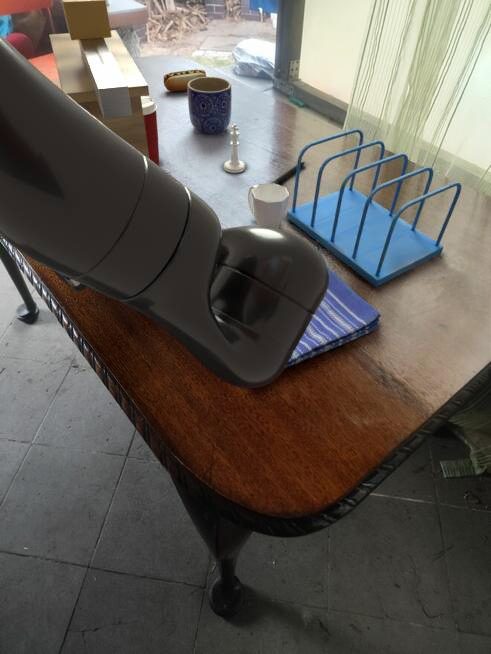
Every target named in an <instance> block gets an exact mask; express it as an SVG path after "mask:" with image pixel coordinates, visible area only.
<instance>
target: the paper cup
mask: <svg viewBox="0 0 491 654" xmlns="http://www.w3.org/2000/svg"><path fill="white" fill-rule="evenodd" d="M141 102H142V109H143V117H144V124H145V131H146V139H147V146H148V153H149V159H150V160H151V161H153V162H154V163H155V164H157V165H158V166H159V167H160V153H159V152H160V150H159V149H160V148H159V132H158V119H157V118H158V115H157V111H158V105H157V104H156V102H155V100H154V99H153V98H152V97H150V96H141Z"/></svg>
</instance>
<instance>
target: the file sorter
mask: <svg viewBox="0 0 491 654" xmlns="http://www.w3.org/2000/svg"><path fill="white" fill-rule="evenodd" d="M356 133H358V134H359V142H358V146H354V147H351V148H349V149H346V150H343V151H340V152H338V153H334V154H332V155H330V156H328V157H327V158H326V159H325V160H324V161H323V162H322V164H321V165H320V167H319V170H318V173H317V179H316V186H315V192H314V199H313V200H311V201H308V202H306V203H303V204H300V205H298V206H297V201H298V200H297V199H298V190H299V181H300V174H301V168H300V166H301V162H302V159H303V156H304V155H305V153H306V152H307V151H308V150H309V149H310V148H312V147H314V146H317V145H320V144H323V143H326V142H329V141H332V140H336V139H339V138H341V137H345V136H349V135H352V134H356ZM363 143H364V133H363V131H362V130H361V129H359V128H354V129H350V130H346V131H344V132H343V131H342V132H340V133H337V134H333V135H330V136H328V137H324V138H321V139H318V140H315V141H312V142H309V143H308V144H306V145H305V146H304V147H303V148H302V149H301V150H300V153H299V155H298V157H297V163H296V165H297V170H296V171H295V179H294V187H293V188H294V190H293V196H292V207H291V208H290V209H287V211H286V212H287V213H286V219H288V220H289V221H291V222H292V223H293V224H295V225H296V226H297V227H299V229H301V230H302V231H304V233H306V234H307V235H308V236H309V237H311V238H312V239H314V240H315V241H316V242H317V243H319V245H321V246H323V248H325V249H326V250H328V251H329V252H330V253H331V254H333V255H334V256H335V257H336V258H337V259H339V260H340V261H341V262H343V263H344V264H345V265H346V266H348V267H349V268H350V269H352V270H353V271H354V272H355V273H357V274H358V275H359V276H361V278H362V279H365V281H367V282H368V283H369V284H371V285H372V286H373V287H374V288H376V287H379V286H381V285H382V284H385V283H387V282H389V281H391V280H392V279H395V278H396V277H398V276H401V275H402V274H404V273H406V272H408V271H410V270H412V269H413V268H415V267H418V266H419V265H421V264H423V263H425V262H428V261H429V260H431V259H433V258H436V257H437V256H439V255H441V254H442V252H443V249H444V245H443V244H442V243H441V242H442V238H443V237H444V234H445V231H446V230H447V226H448V224H449V222H450V219H451V217H452V215H453V212H454V209H455V207H456V205H457V202H458V200H459V197H460V195H461V192H462V184H461V182H458V181H454V182H451V183H449V184H447V185H444V186H441V187H439V188H437V189H435V190H433V191H430V192H429V190H430V187H431V184H432V181H433V177H434V169H433V168H432V167H430V166H425V167H424V166H423V167H421V168H419V169H416V170H414V171H412V172H408V173H406V171H407V168H408V164H409V157H408V155H407V154H406V153H404V152H400V153H396V154H394V155H391V156H388V157H385V158H384V155H385V152H386V151H385V150H386V146H385V143H384V142H383V141H382V140H379V139H378V140H374V141H370V142H367V143H364V144H363ZM376 145H380V147H381V148H380V155H379V158H378V160H377V161H374V162H372V163H369V164H366V165H363V166H361V167H358V165H359V161H360V156H361V153H362V150H363V149H367V148H369V147H373V146H376ZM354 152H356V156H355V161H354V165H353V166H354V167H353V169H352V171H350V172H349V173H348V174H347V175H346V176H345V178H344V179H343V181H342V183H341V185H340V189H339V190H337V191H334V192H332V193H329V194H326V195H324V196H322V197H319V195H320V190H321V189H320V187H321V181H322V177H323V172H324V171H325V168H326V166H327V165H328V164H329V162H331V161H332V160H335V159H337V158H340V157H343V156H346V155H349V154H352V153H354ZM399 158H403V166H402V169H401V172H400V176H399V177H396V178H394V179H391V180H389V181H386V182H383V183H381V184H379V185H377V183H378V179H379V176H380V172H381V168H382V165H383V164H385V163H388V162H391V161H394V160H397V159H399ZM374 167H376V171H375V175H374V179H373V183H372V187H371V190H370V193H369V195H368V196H366V195H364V194H363V193H362V192H360V191H359V190H357V189H355V188H354V185H355V183H354V182H355V178H356V174H359V173H361V172H364V171H367V170H369V169H372V168H374ZM427 171H428V172H429V173H428V179H427V181H426V184H425V187H424V190H423V193H422V195H421V196H419V197H416V198H414V199H412V200H410V201H408V202H406V203H405V204H403V205H402V206H401V207H400V208H399V209H398V211H397V212H395V214H394V211H395V208H396V205H397V201H398V198H399V195H400V191H401V189H402V186H403V185H402V184H403V181H404V180H407V179H410V178H412V177H414V176H415V177H416V176H417V175H420V174H422V173H424V172H427ZM349 180H350V183H349V186H347V183H348V182H349ZM395 184H397V186H396V191H395V194H394V197H393V200H392V204H391V207H390V211H389V210H388V209H387V208H385V207H384V206H382V205H380V204H379V203H377V202H375V201H374V200H373V198H374V196H375V195H376V194H377V193H378V192H379V191H381V190H383V189H385V188H387V187H389V186H392V185H395ZM346 186H347V187H346ZM454 187H456V191H455V195H454V196H453V199H452V202H451V204H450V207H449V209H448V211H447V213H446V214H447V215H446V216H445V219H444V222H443V224H442V227H441V229H440V232H439V234H438V236H437V240H435V239H433V238H432V237H430V236H429V235H427V234H425V233H424V232H422V230H420V229H417V225H418V221H419V220H420V219H419V218H420V216H421V213H422V211H423V207H424V205H425V201H426V200H427V199H429V198H431V197H433V196H436V195H438V194H441V193H443V192H445V191H447V190H450V189H451V188H454ZM418 203H419V205H418V208H417V211H416V214H415V216H414V220H413V223H412V224H410V223H409V222H407V221H405V220H404V219H402V218H401V217H400V216H401V215H402V214H403V212H404V211H405V210H406V209H408V208H409V207H411V206H413V205H416V204H418Z"/></svg>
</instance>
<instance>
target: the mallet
mask: <svg viewBox="0 0 491 654" xmlns="http://www.w3.org/2000/svg"><path fill="white" fill-rule="evenodd" d="M60 2H61V6H62V9H63V15H64V18H65V23H66V27H67V31H68V33H69V34H70V37H71V40H78V41H79V46H80V51H81V55H82V58H83V61H84V64H85V67H86V69H87V72H88V75H89V78H90V81H91V83H92V86H93V89H94V92H95V95H96V97H97V100H98V103H99V106H100V109H101V111H102V114H103V117H104V119H107V118H116V117H124V116H132V110H131V104H130V97H129V91H128V86H127V84H126V82H125V80H124V78H123V76H122V74H121V72H120V70H119V68H118V66H117V64H116V62H115V60H114V58H113V56H112V54H111V52H110V50H109V48H108V46H107V44H106V42H105V40H104V38H111V37H112V36H111V30H112V29H111V24H110V19H109V11H108V7H107V1H106V0H61V1H60Z"/></svg>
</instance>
